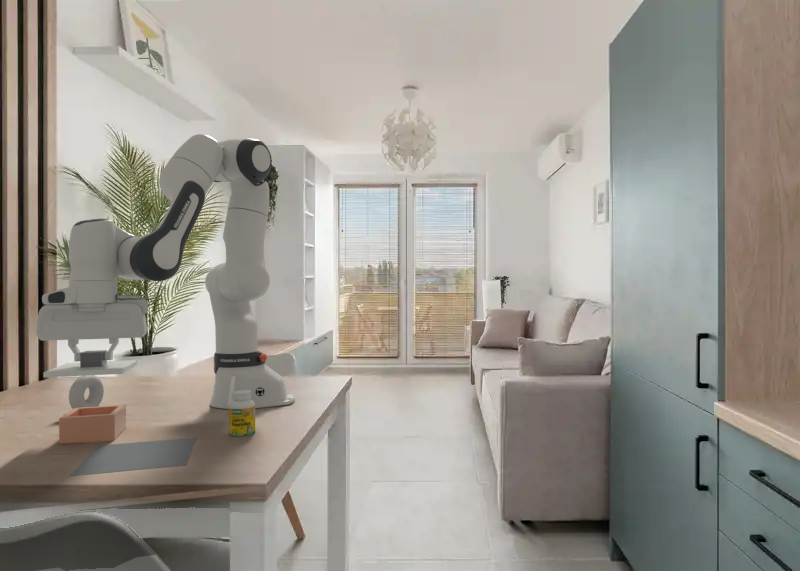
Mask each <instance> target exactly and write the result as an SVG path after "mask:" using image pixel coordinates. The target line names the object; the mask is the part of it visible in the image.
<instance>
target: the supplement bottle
mask: <svg viewBox="0 0 800 571" xmlns="http://www.w3.org/2000/svg"><path fill="white" fill-rule="evenodd" d="M251 396H252V395H251V391H250V390H238V391H234V392H232V399H233V401H232V402H231V403H230V404H229V409H228V433H229V436H232V437H247V436H251V435H254V434H256V408H255V403H254V401H253V400H250V398H251Z"/></svg>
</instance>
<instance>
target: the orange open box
mask: <svg viewBox="0 0 800 571" xmlns="http://www.w3.org/2000/svg"><path fill="white" fill-rule="evenodd" d="M58 424H59V425H58V432H59V433H58V434H59V435H58V437H59V438H58V441H59V442H58V445H59V446H60V445H64V446H65V445H75V444H76V445H77V444H87V443H90V444H91V443H101V442H115V441H116V440H118V438H119V437H120V435H121V434H122V433H124V431H125V430H126V429H127V404H115V405H114V404H113V405H102V406H101V405H100V406H96V407H80V408H74V409H71V410H70V411H68V412H67V413H65V414H64V415H62V416H61V417H59V419H58Z"/></svg>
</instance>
